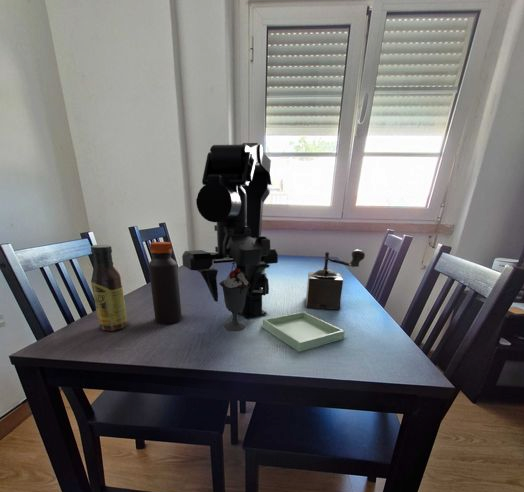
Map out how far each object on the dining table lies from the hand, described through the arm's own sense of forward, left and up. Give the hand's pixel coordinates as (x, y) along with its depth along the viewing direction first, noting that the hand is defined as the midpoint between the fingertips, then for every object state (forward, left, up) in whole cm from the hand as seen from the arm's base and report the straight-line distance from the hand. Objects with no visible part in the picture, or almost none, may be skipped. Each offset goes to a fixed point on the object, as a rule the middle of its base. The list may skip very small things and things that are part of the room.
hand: (233, 298), depth 59 cm
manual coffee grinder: (-10, +39, -11) cm, 41 cm away
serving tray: (+3, +17, -10) cm, 20 cm away
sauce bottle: (-22, -22, -11) cm, 33 cm away
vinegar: (-21, -9, -11) cm, 25 cm away
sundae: (-1, +1, -7) cm, 7 cm away
